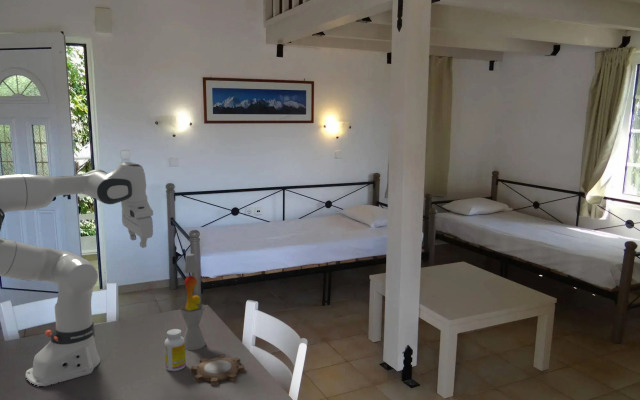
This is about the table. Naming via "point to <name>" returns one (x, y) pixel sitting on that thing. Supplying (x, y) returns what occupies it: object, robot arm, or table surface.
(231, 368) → the gear platform
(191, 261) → the lava lamp
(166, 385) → the table surface
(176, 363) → the supplement bottle
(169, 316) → the table surface
